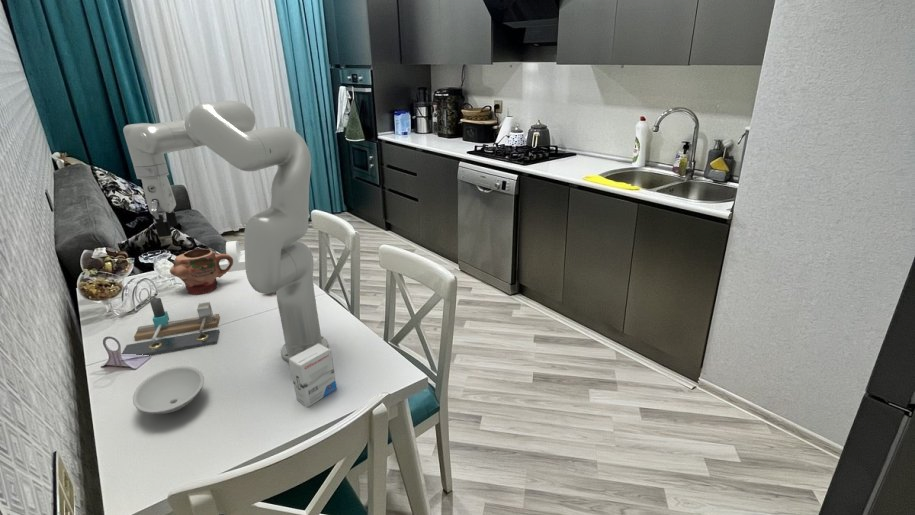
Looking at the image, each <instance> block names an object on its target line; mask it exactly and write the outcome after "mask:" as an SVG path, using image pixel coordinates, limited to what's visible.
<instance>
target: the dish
mask: <svg viewBox="0 0 915 515" xmlns="http://www.w3.org/2000/svg"><path fill="white" fill-rule="evenodd" d="M204 383H205V376H204V374H203V372H202V371H200V370H199V369H198V368H196V367H193V366H186V365H183V366H182V365H181V366H180V365H179V366H173V367H170V368H165V369H162V370H159V371H157V372H156V373H154V374H152V375H150V376H149V377H147V378H146V379H144V380H142V382H141V383H140V384H138V386H137V387H136V389H135V391H133V395H132V404H133V406H134V407H135V408H136V409H137V410H138V411H140V412H143V413H149V414H159V415H161V414H169V413H173V412H176V411H178V410H181V409H182V408H184V407H185V406H187V405H188V404H190V402H192V401H193V400H194V398H195V397H196V396H197V395H198V394H199V393H200V391H201V390H202V388H203V386H204Z"/></svg>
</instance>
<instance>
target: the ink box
mask: <svg viewBox="0 0 915 515" xmlns="http://www.w3.org/2000/svg"><path fill="white" fill-rule="evenodd" d="M333 360H334V359H333V354H332V349H331V348H329V347H328V348H327V347H326V346H324V345H322V344H319V343H318V344H316V345H314V346H313V347H311V348H309V349H307V350H305V351H303V352H301V353H299V354H297V355H295V356H293V357H291V358H289V361H288V362H289V368H290V373H291V377H292V378H291V379H292V382H293V383H292V384H293V388H294V392H295V393H294V394H295V397H296V400H297V401H298V402H300V403H301V404H302V405H304V406H306V408H309V407H311V406H312V405H314V404H315V403H317V402H319V401H320V400H321V399H324V397H326V396H328V395H329V394H331V393H332V392H334V391H335V390H337V388H338V387H337V380H336V374H335V367H334V361H333Z"/></svg>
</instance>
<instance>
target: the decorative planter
mask: <svg viewBox="0 0 915 515" xmlns="http://www.w3.org/2000/svg"><path fill="white" fill-rule="evenodd" d="M222 259H227V260H228V261H229V263H230V264H229V266H228V267H227V268H226V269H224V270H223V269H221V268H220V265H219V262H220V260H222ZM232 265H233V259H232V257H231V256H230V255H227V254H226V253H218V254H216V253H215V252H214V251H213V250H212V249H209V248H194V249H192V250H188V251H185V252H184V253H181V254H179V255H177V256H176V257H175V258H174V260H173V265H172V267H171V268H170V269H169V273H170V274H171V275H172V276H175V277H177V278H179V279H180V280H181V281H182V282H183V283H184V285H185V290H186V292H187V293H188V294H191V295H203V294H208V293H211V292H213V291H215V290H216V288H217V287H218V281H217V278H222V277H223V276H224V275H226V274H228V273H229V272H228V271H229V269H230V268H231V266H232Z"/></svg>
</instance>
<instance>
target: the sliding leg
mask: <svg viewBox="0 0 915 515" xmlns="http://www.w3.org/2000/svg"><path fill="white" fill-rule="evenodd" d="M149 304H150V307H151V310H152V312H153V318H152V322H153V324H154V326H155V327H158V328H157V330H156V332H155V334H154V336H153V338H151V341H152V340H153V343H154V344H156V341H155V340H157V339H156V338H158V337H157V335H158V333H159V331H160V329H161V327H162V326H166V325H167V323H168V322H170V317H169V314H168V311H165V308H164V305H163V301H162V299H161V297H156V298H153V299H151V300H149Z"/></svg>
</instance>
